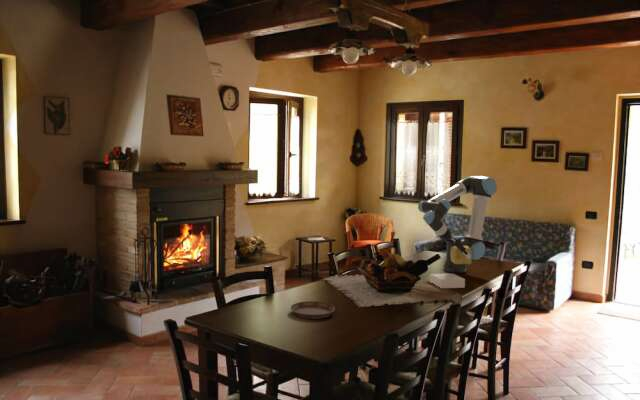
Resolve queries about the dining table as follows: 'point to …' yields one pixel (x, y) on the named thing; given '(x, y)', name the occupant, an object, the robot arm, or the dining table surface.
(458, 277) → the stand
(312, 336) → the dining table surface
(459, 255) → the cheese
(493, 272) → the dining table surface
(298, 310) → the plant saucer
